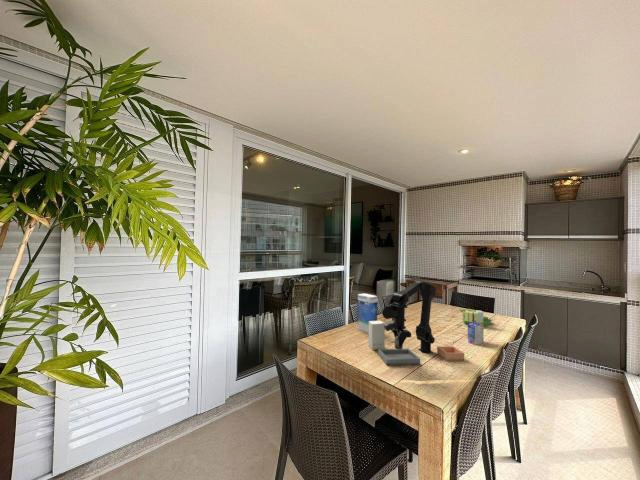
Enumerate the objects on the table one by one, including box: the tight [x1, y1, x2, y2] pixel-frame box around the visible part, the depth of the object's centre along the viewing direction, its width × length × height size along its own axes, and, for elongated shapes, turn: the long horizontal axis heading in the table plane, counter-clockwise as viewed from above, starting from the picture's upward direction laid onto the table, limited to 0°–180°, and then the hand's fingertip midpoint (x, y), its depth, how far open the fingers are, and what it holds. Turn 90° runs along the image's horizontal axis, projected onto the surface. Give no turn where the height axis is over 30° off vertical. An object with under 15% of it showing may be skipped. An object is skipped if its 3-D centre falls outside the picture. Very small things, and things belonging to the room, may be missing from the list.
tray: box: [377, 348, 421, 366], centre depth 151 cm, size 14×18×3 cm
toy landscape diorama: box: [459, 308, 493, 327], centre depth 224 cm, size 35×20×13 cm, turn 132°
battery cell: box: [394, 336, 404, 349], centre depth 151 cm, size 4×4×7 cm
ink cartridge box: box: [467, 320, 485, 346], centre depth 180 cm, size 10×6×14 cm, turn 121°
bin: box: [436, 345, 465, 362], centre depth 156 cm, size 10×10×4 cm
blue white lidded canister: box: [357, 293, 378, 335], centre depth 199 cm, size 13×8×26 cm, turn 35°
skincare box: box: [368, 320, 386, 351], centre depth 167 cm, size 8×7×16 cm
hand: (398, 345), depth 151 cm, fingers closed on battery cell, 4 cm apart
